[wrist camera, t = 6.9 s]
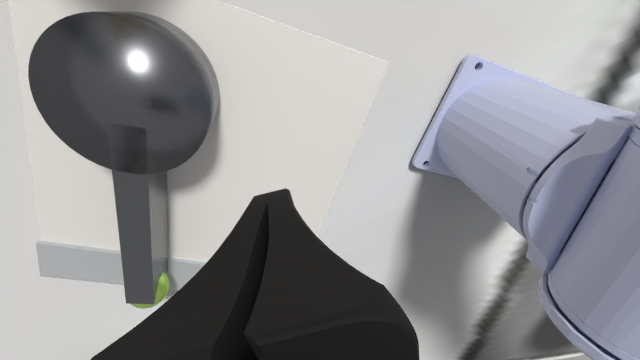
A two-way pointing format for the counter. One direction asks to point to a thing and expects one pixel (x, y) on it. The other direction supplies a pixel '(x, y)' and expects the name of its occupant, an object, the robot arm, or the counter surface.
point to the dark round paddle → (128, 120)
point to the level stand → (219, 144)
